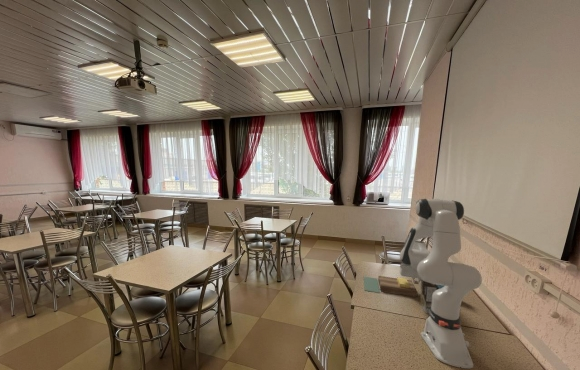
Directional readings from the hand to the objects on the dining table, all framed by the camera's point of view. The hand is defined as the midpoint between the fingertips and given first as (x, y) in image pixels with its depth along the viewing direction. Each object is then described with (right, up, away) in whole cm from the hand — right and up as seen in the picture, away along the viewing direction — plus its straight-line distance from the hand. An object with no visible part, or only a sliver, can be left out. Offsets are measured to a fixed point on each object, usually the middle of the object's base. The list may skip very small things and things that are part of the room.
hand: (415, 283), depth 149 cm
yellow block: (-8, -1, +2) cm, 8 cm away
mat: (-28, -4, +8) cm, 29 cm away
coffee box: (-4, -7, -19) cm, 20 cm away
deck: (-12, -5, +4) cm, 13 cm away
